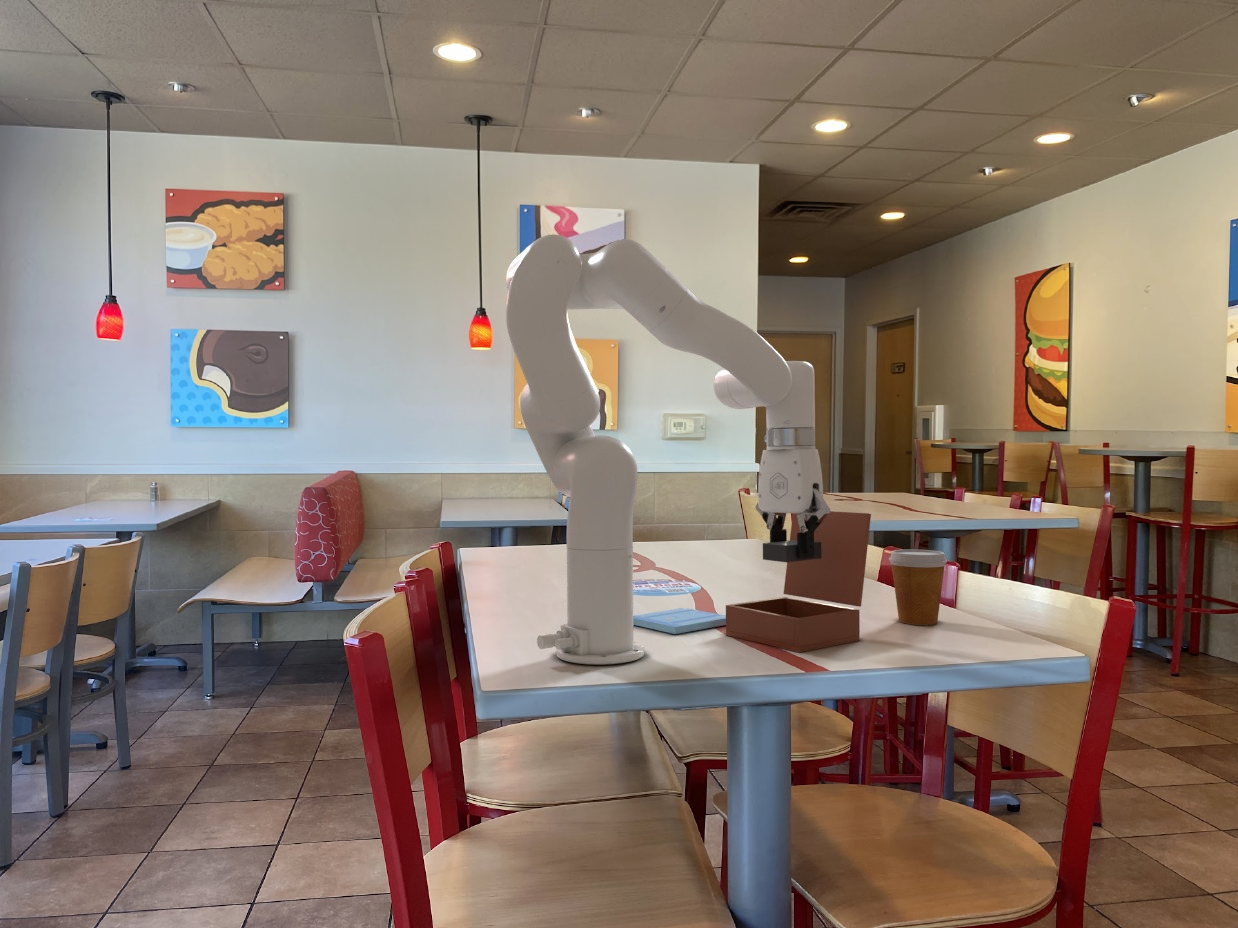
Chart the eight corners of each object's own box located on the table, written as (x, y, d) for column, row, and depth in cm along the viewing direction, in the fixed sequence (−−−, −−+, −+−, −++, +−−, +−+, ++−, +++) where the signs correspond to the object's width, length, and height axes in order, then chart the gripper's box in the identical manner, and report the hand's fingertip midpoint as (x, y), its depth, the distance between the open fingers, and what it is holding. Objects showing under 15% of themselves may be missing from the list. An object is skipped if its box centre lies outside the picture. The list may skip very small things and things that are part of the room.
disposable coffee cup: (918, 615, 154) (917, 548, 154) (959, 624, 146) (959, 553, 146) (877, 619, 150) (876, 550, 150) (917, 629, 142) (917, 556, 142)
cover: (868, 513, 134) (871, 513, 135) (793, 508, 147) (796, 509, 147) (857, 606, 133) (861, 606, 133) (783, 593, 146) (786, 594, 146)
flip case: (799, 652, 125) (799, 619, 125) (725, 634, 138) (725, 605, 138) (859, 640, 133) (859, 609, 133) (785, 625, 146) (784, 596, 146)
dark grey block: (786, 562, 131) (786, 545, 131) (762, 559, 135) (762, 543, 135) (821, 558, 136) (821, 541, 136) (797, 555, 140) (797, 539, 140)
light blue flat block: (684, 614, 156) (684, 607, 156) (732, 623, 147) (732, 616, 147) (627, 623, 148) (626, 616, 148) (675, 634, 138) (675, 626, 138)
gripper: (735, 441, 140) (736, 553, 140) (816, 439, 126) (817, 563, 126) (768, 441, 145) (769, 550, 145) (849, 439, 131) (851, 559, 131)
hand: (791, 554), depth 136 cm, fingers closed on dark grey block, 5 cm apart
